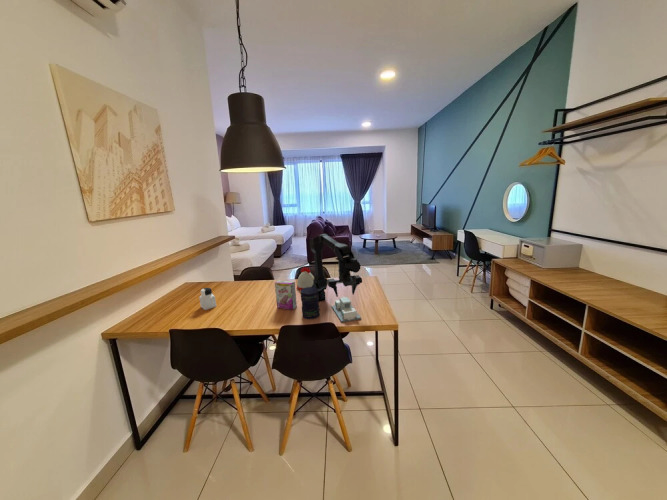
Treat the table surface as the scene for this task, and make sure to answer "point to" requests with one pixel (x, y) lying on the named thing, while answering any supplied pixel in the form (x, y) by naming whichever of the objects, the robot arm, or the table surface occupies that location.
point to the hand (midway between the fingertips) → (345, 295)
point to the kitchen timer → (305, 279)
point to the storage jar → (310, 303)
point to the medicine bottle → (207, 299)
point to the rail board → (339, 314)
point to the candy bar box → (285, 294)
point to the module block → (345, 303)
